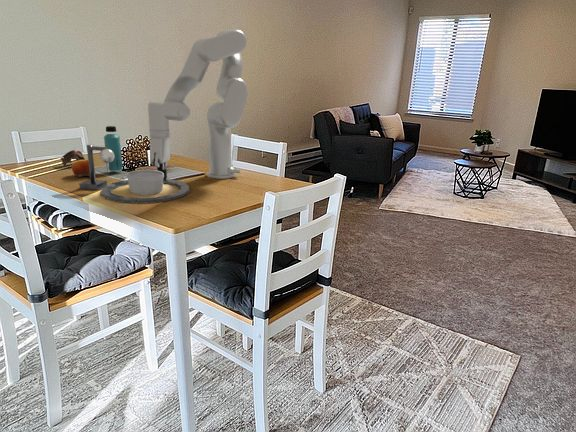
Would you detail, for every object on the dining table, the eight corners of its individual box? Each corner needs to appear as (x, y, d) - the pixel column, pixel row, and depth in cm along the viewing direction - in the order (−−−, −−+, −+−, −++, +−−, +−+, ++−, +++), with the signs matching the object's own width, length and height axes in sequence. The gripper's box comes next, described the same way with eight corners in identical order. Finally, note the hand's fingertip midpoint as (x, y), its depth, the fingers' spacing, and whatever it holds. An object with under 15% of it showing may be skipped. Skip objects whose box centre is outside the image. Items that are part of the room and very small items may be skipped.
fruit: (77, 176, 166) (72, 157, 167) (73, 182, 172) (68, 164, 173) (98, 174, 171) (93, 156, 172) (93, 180, 178) (89, 162, 178)
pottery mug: (85, 169, 186) (73, 154, 182) (67, 177, 188) (55, 163, 183) (92, 157, 196) (81, 143, 192) (75, 165, 197) (63, 151, 193)
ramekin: (171, 189, 161) (170, 171, 159) (152, 198, 149) (151, 179, 147) (141, 185, 164) (139, 168, 162) (120, 194, 152) (118, 175, 150)
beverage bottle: (117, 174, 178) (113, 127, 171) (103, 173, 179) (99, 126, 172) (126, 171, 184) (122, 126, 177) (112, 170, 185) (108, 124, 178)
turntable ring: (199, 183, 170) (199, 180, 169) (171, 206, 141) (171, 202, 140) (126, 178, 172) (126, 175, 172) (84, 199, 143) (84, 195, 143)
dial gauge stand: (120, 186, 161) (117, 145, 156) (111, 191, 154) (107, 148, 149) (90, 184, 162) (85, 143, 157) (79, 188, 155) (74, 146, 150)
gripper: (157, 130, 171) (160, 174, 177) (142, 135, 157) (146, 182, 163) (175, 131, 171) (177, 175, 177) (161, 137, 157) (164, 184, 163)
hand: (162, 178), depth 170 cm, fingers closed
